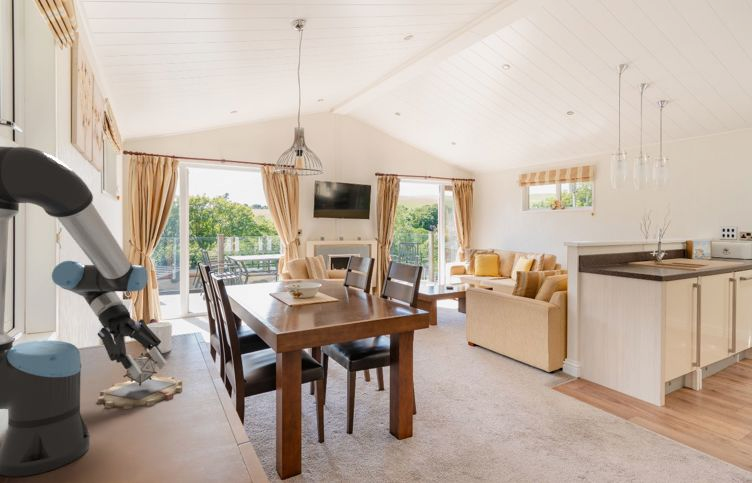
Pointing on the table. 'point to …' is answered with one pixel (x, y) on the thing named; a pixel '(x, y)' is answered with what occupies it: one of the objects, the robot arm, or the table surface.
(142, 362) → the game die
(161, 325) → the mug
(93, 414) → the table surface
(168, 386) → the sprocket plate
